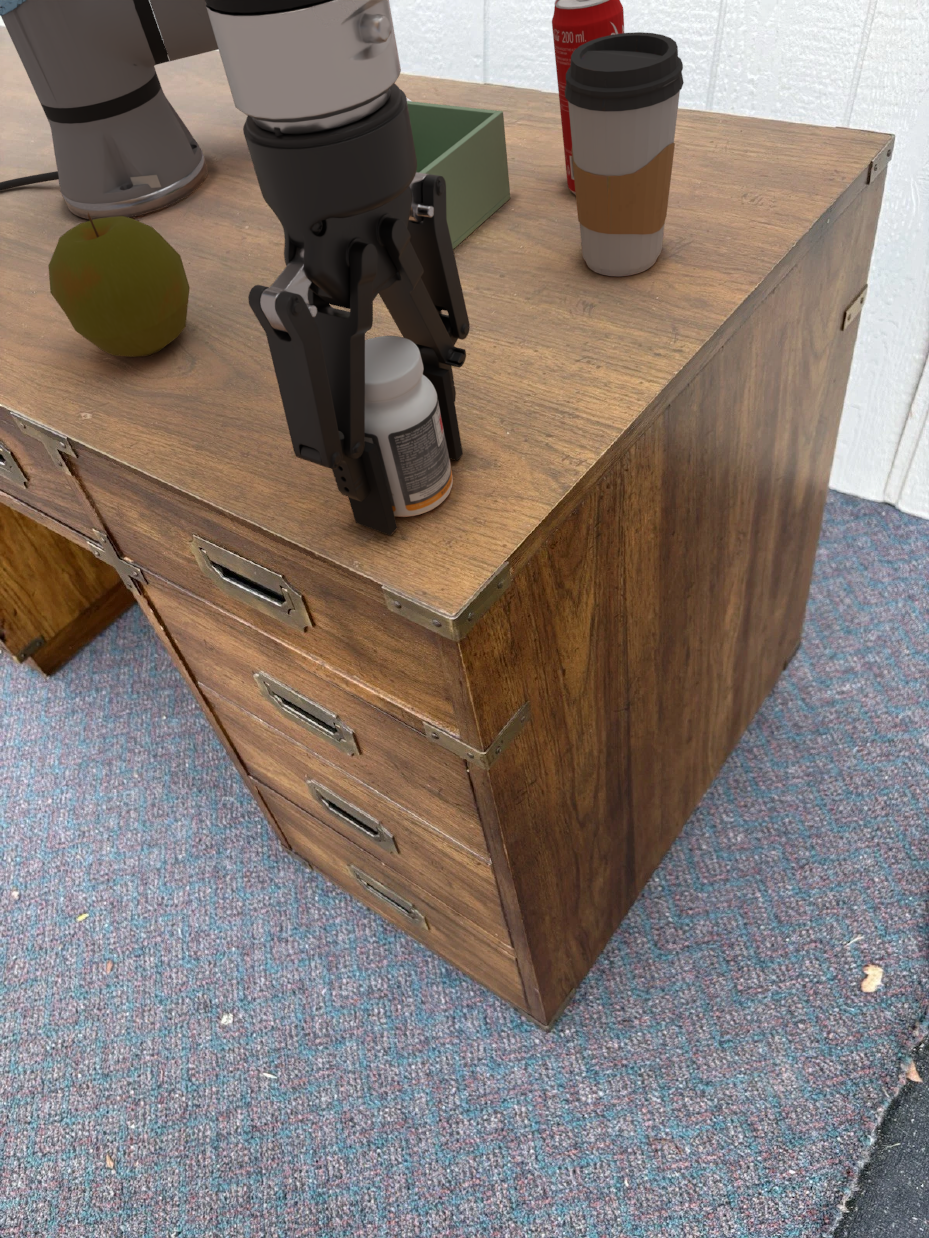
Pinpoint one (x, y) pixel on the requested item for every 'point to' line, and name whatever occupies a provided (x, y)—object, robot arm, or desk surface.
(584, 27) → the beverage can
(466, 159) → the bin
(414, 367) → the pill bottle
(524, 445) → the desk surface
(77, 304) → the apple
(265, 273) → the desk surface
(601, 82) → the coffee cup
